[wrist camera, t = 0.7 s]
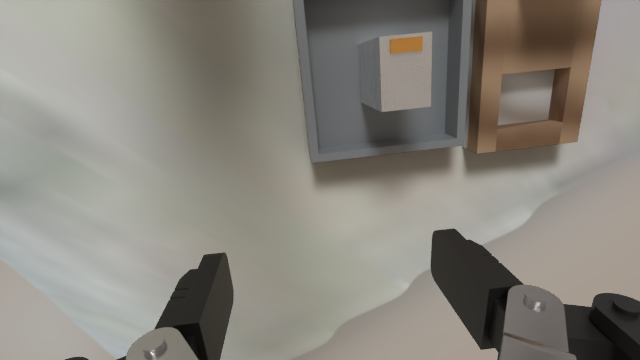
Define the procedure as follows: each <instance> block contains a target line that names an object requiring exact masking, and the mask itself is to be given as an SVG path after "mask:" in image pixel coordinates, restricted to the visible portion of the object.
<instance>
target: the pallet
mask: <svg viewBox="0 0 640 360" xmlns="http://www.w3.org/2000/svg"><path fill="white" fill-rule="evenodd" d="M600 6H601V0H472V10H471V29H470V48H469V66H468V85H467V103H466V122H465V140H464V145H463V148H465V149H468V150H470V151H472V152H474V153H477V154H479V153H487V152H496V151H504V150H513V149H521V148H530V147H538V146H547V145H555V144H564V143H572V142H577V140H578V134H579V128H580V123H581V117H582V111H583V105H584V99H585V93H586V88H587V82H588V76H589V70H590V64H591V59H592V53H593V47H594V41H595V35H596V29H597V24H598V18H599V12H600Z"/></svg>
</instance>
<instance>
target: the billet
mask: <svg viewBox="0 0 640 360" xmlns="http://www.w3.org/2000/svg"><path fill="white" fill-rule="evenodd" d="M358 56H359V76H360V95H361V103H363V104H366V105H368V106H370V107H372V108H374V109H376V110H378V111H381V112H387V111H396V110H405V109H414V108H423V107H431V72H432V32H423V33H412V34H402V35H392V36H382V37H377V38H374V39H372V40H369V41H366V42H363V43H361V44H358Z"/></svg>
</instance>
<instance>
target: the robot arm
mask: <svg viewBox="0 0 640 360" xmlns="http://www.w3.org/2000/svg"><path fill="white" fill-rule="evenodd" d="M431 272H432V276H433V278H434V280H435V282H436V283H437V285H438V287H439V288H440V290H441V291H442V292H443V294H444V295H445V297H446V298H447V300H448V301H449V303H450V304H451V306H452V307H453V309H454V310H455V312H456V313H457V315H458V316H459V317H460V319H461V321H462V322H463V324H464V325H465V327H466V328H467V330H468V331H469V332H470V334H471V335H472V337H473V338H474V340H475V341H476V343H477V344H478V346H479V347H480V349H481V350H482V349H490V348H496V350H497V351H498V352H499V353H498V359H497V360H640V302H639V301H637V300H635V299H632V298H630V297H627V296H623V295H619V294H613V293H602V294H598V295H596V296H595V297H594V300H593V303H592V307H585V306H576V305H567V304H563V303H562V302H561V300H560V299H559V298H557V297H556V296H555V295H554V294H552V293H550V292H549V291H547V290H545V289H542V288H539V287H536V286H531V285H524V284H523V283H521V282H520V281H519V280H518V279H517V278H516V277H515V276H514V275H513V274H512V273H511V272H510V271H509V270H507V268H505V267H504V266H503V265H502V264H501V263H499V261H498V260H497V259H496V258H495V257H494V256H492V255H491V254H490V253H489V252H488V251H487V250H486V249H485V248H484V247H483V246H481V245H479V244H477V243H475V242H473V241H472V240H466V239H465V238H464V237H463V236H462V235H461V234H460V233H459V232H458V231H457V230H456V229H446V230H437V231H434V232H433V236H432V251H431ZM232 305H233V285H232V280H231V275H230V269H229V264H228V259H227V255H226V253H216V254H206V255H204V256H203V258H202V260H201V263H200V265H199V267H198V269H192V270H189V271H188V272H187V273H186V274H185V275H184V276H183V277H182V278H181V279H180V280H179V282H178V284H177V286H176V288H175V291H174V292H173V294H172V296H171V298H170V300H169V302H168V304H167V306H166V308H165V309H164V311H163V313H162V315H161V317H160V319H159V321H158V323H157V325H156V327H155V329H154V330H152V331H150V332H148V333H146V334H145V335H143V336H141V337H140V338H139V339H138V340H136V341H135V342H134V343H133V344H132V346H131V347H130V348H129V350H128V352H127V355H126V356H125V357H122V358H120V359H117V360H220V357H221V352H222V348H223V344H224V339H225V335H226V331H227V327H228V322H229V318H230V314H231V309H232ZM66 360H88V359H87V358H84V357H73V358H69V359H66Z"/></svg>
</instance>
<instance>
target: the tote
mask: <svg viewBox="0 0 640 360" xmlns="http://www.w3.org/2000/svg"><path fill="white" fill-rule="evenodd" d="M293 8H294V17H295V26H296V36H297V45H298V54H299V63H300V72H301V81H302V90H303V100H304V109H305V118H306V127H307V136H308V145H309V154H310V159H311V163H317V162H325V161H334V160H343V159H351V158H360V157H368V156H377V155H386V154H394V153H403V152H412V151H420V150H429V149H437V148H446V147H455V146H463V145H464V140H465V122H466V103H467V85H468V66H469V48H470V29H471V10H472V0H293ZM423 32H432V72H431V107H423V108H414V109H405V110H396V111H387V112H381V111H378V110H376V109H374V108H372V107H370V106H368V105H366V104H363V103H361V95H360V76H359V56H358V44H361V43H363V42H366V41H369V40H372V39H374V38H377V37H382V36H392V35H402V34H412V33H423Z"/></svg>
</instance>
